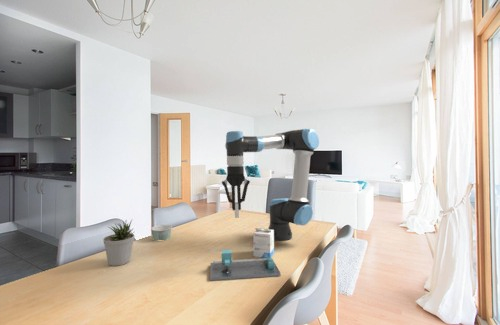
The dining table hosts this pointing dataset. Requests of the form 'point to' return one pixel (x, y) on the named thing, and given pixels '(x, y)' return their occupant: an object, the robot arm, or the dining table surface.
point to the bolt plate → (244, 269)
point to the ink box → (263, 243)
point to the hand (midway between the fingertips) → (236, 217)
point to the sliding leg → (227, 258)
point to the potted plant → (119, 245)
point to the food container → (161, 232)
